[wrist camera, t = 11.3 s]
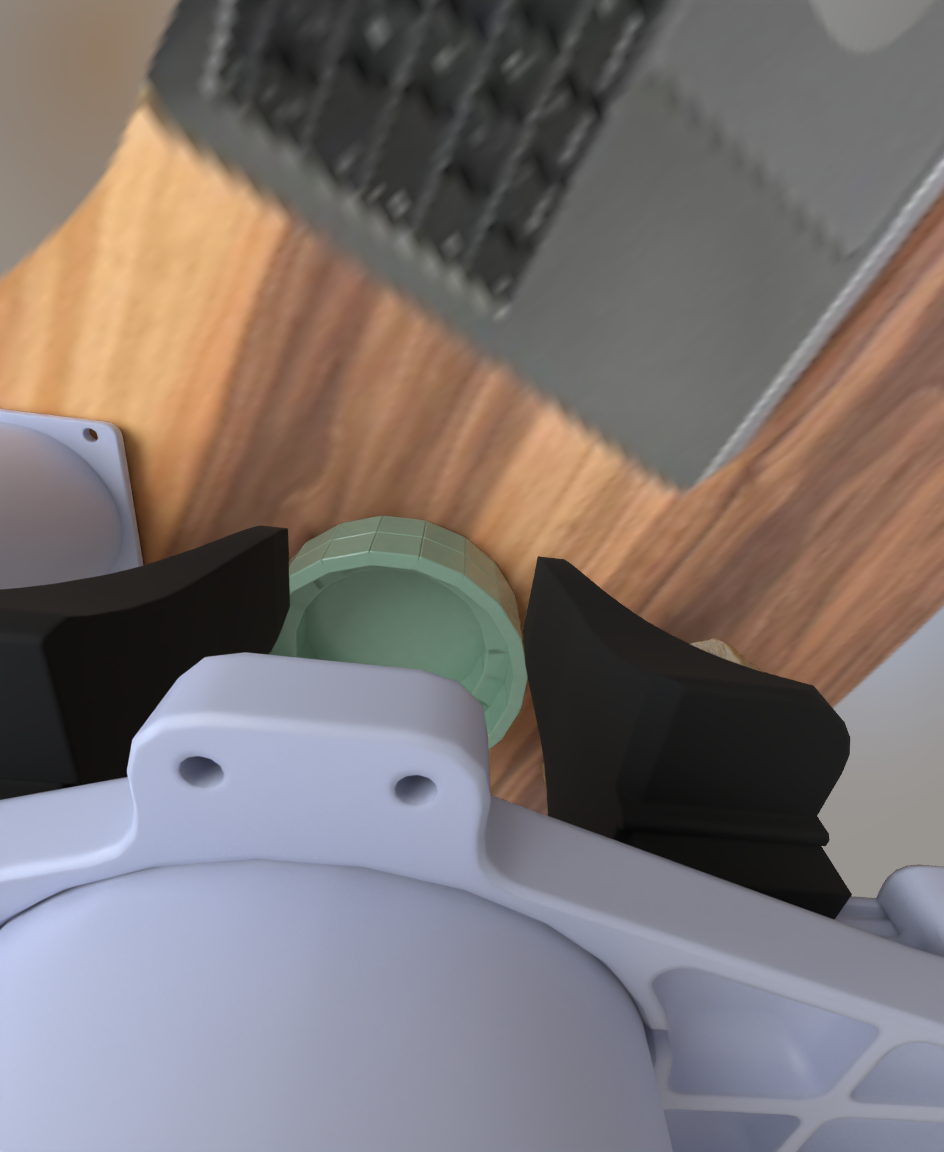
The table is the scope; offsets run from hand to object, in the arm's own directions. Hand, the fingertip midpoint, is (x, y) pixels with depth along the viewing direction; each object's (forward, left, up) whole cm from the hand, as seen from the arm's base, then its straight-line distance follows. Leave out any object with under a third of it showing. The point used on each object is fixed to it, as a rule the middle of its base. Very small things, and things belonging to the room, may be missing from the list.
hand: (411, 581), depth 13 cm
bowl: (-1, -8, -10) cm, 13 cm away
